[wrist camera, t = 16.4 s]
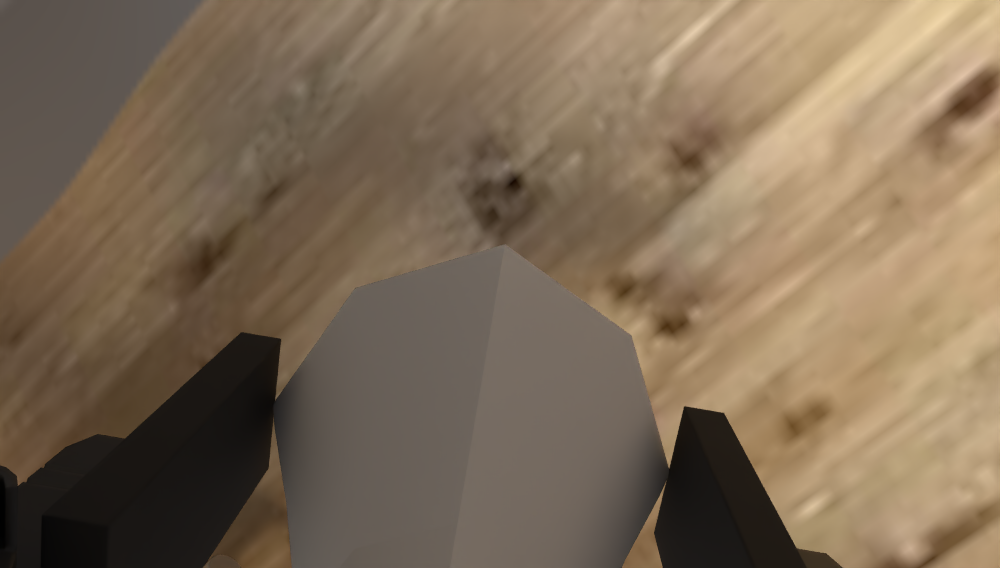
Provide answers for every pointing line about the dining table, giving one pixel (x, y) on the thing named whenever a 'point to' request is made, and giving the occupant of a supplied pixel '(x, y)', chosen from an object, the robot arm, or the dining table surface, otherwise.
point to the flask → (468, 427)
